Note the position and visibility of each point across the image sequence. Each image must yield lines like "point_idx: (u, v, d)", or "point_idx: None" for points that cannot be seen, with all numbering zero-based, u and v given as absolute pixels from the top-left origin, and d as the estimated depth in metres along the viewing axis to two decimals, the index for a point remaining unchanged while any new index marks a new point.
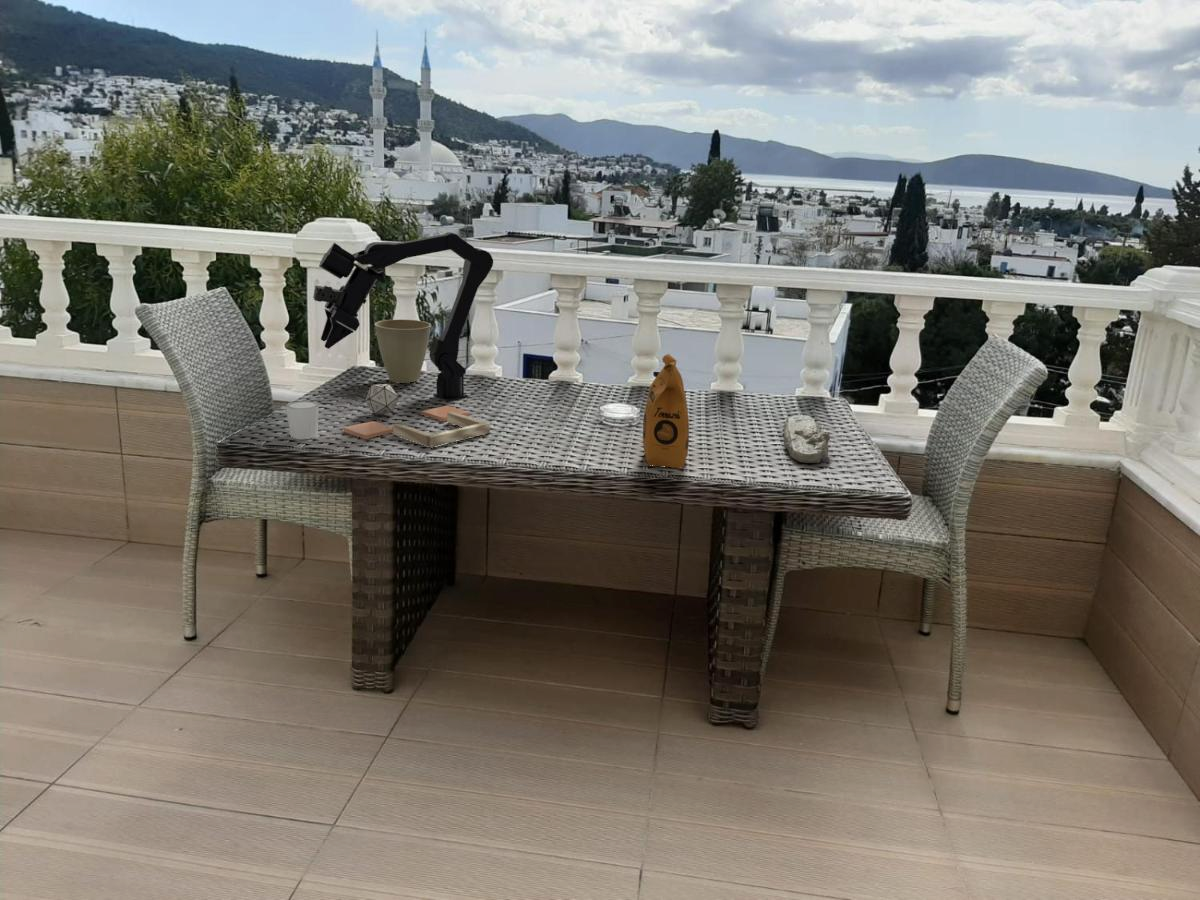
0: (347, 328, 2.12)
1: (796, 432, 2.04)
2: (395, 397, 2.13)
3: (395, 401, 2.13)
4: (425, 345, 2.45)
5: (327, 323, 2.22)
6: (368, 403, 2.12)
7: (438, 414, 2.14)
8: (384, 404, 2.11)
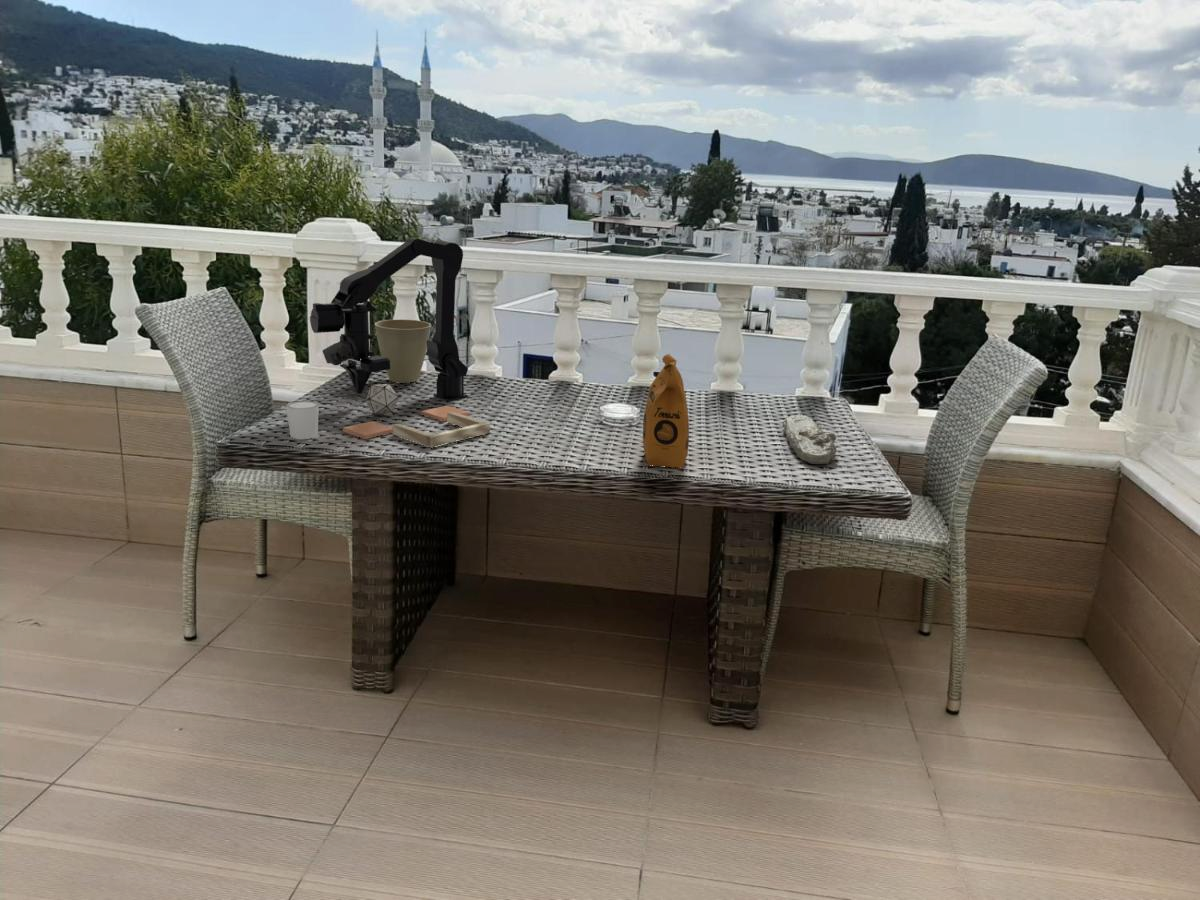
0: None
1: (800, 433, 2.04)
2: (395, 397, 2.13)
3: (395, 401, 2.13)
4: (425, 345, 2.45)
5: (353, 376, 2.18)
6: (368, 403, 2.12)
7: (438, 414, 2.14)
8: (384, 404, 2.11)
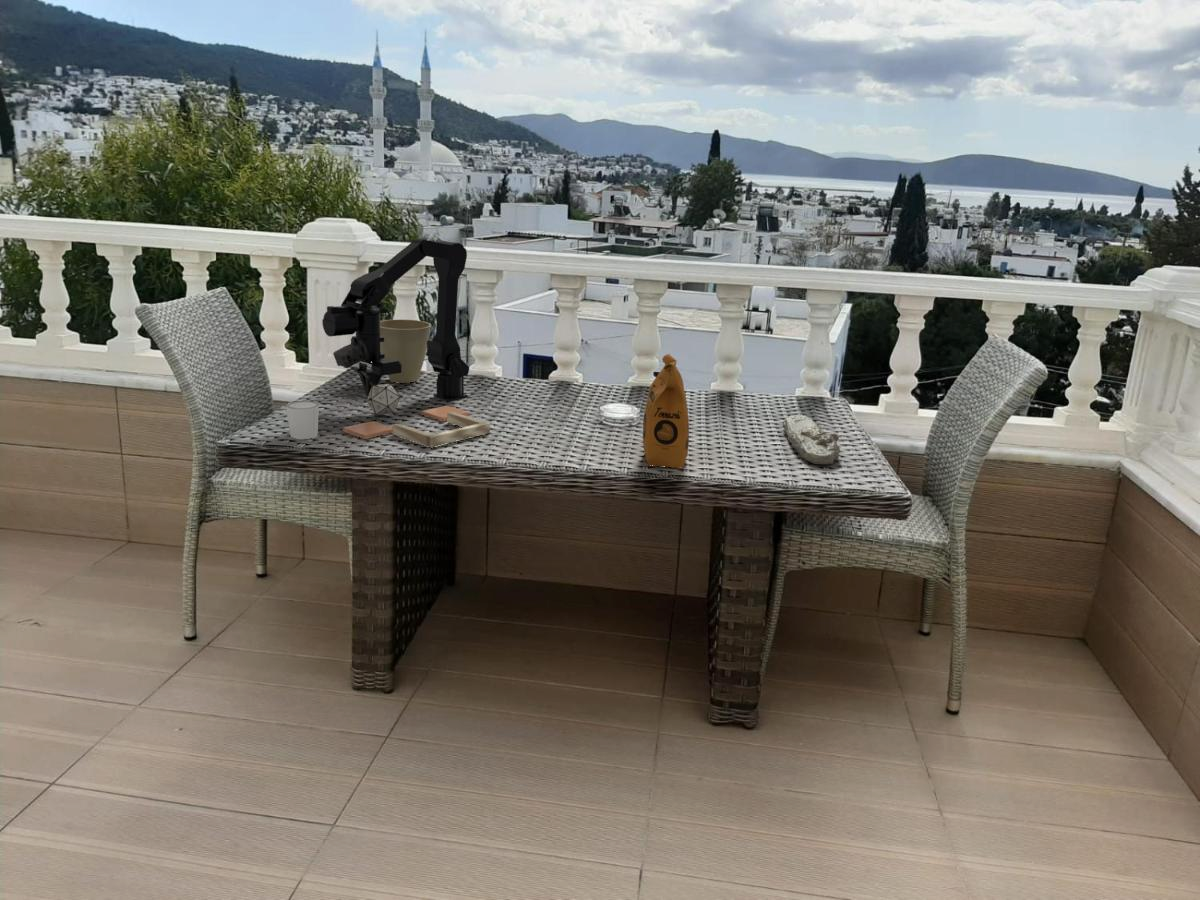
0: None
1: (803, 433, 2.04)
2: (396, 397, 2.12)
3: (396, 401, 2.13)
4: (425, 345, 2.45)
5: (364, 379, 2.15)
6: (369, 403, 2.12)
7: (438, 414, 2.14)
8: (386, 404, 2.10)
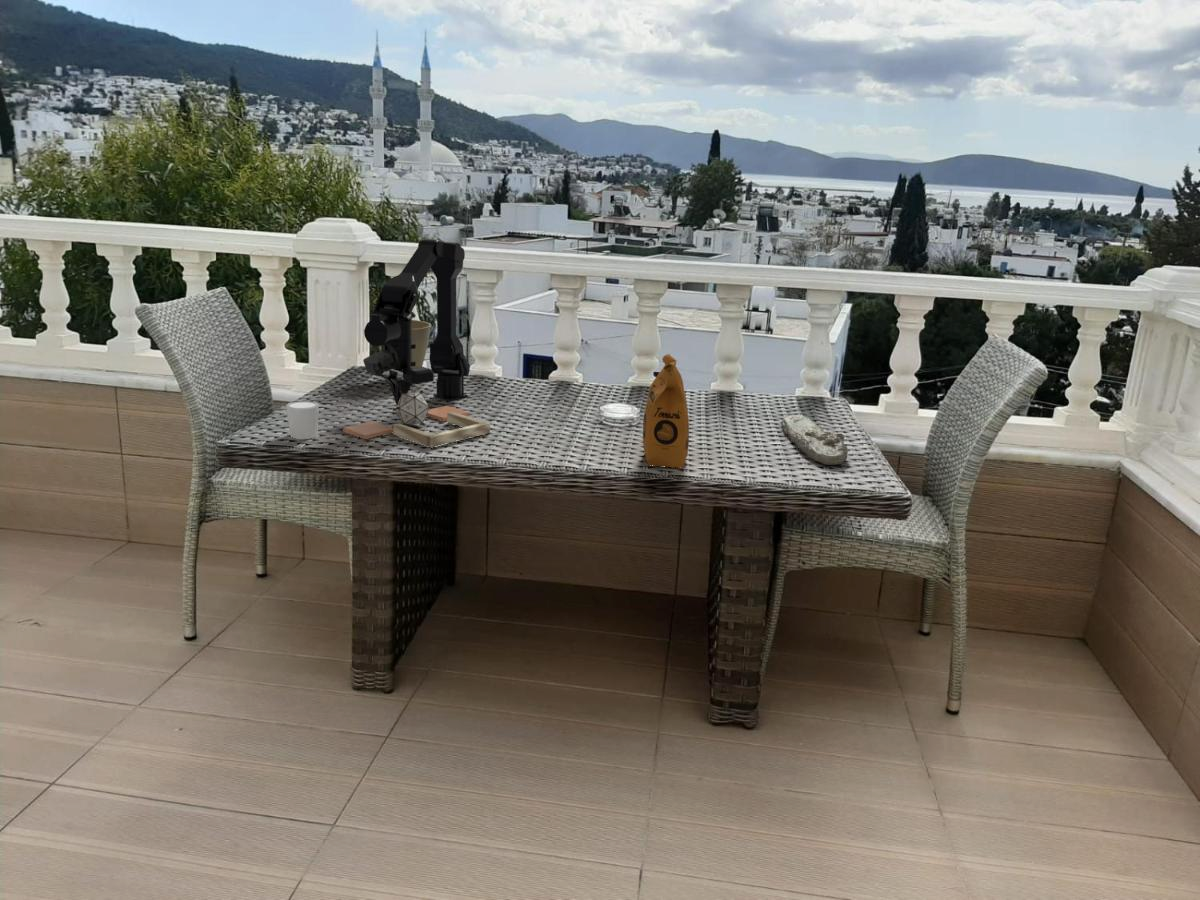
0: None
1: (807, 434, 2.04)
2: (425, 407, 2.05)
3: (425, 411, 2.05)
4: (425, 345, 2.45)
5: (394, 387, 2.07)
6: (398, 412, 2.05)
7: (438, 414, 2.14)
8: (414, 414, 2.03)
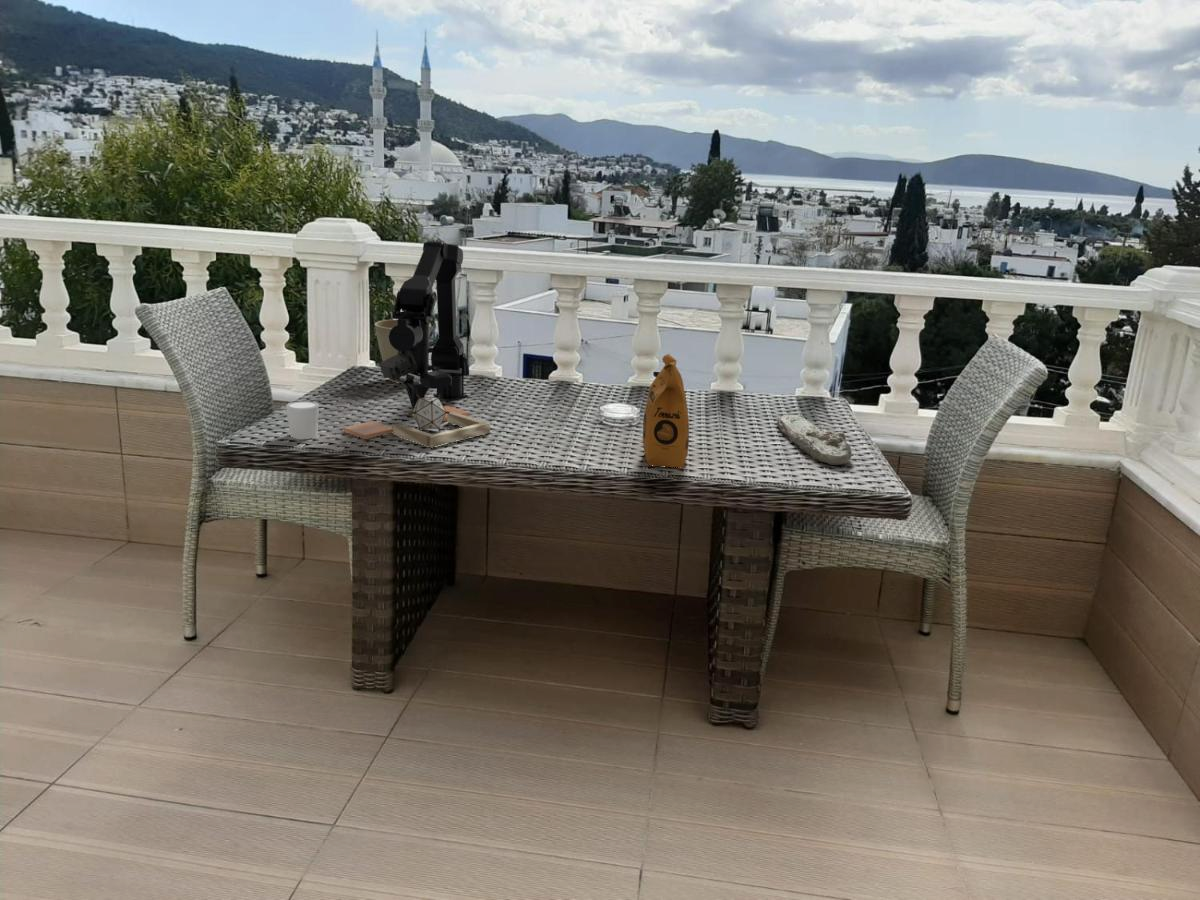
0: None
1: (808, 434, 2.04)
2: (442, 413, 2.01)
3: (442, 417, 2.02)
4: None
5: (411, 392, 2.04)
6: (414, 416, 2.02)
7: None
8: (430, 419, 2.00)
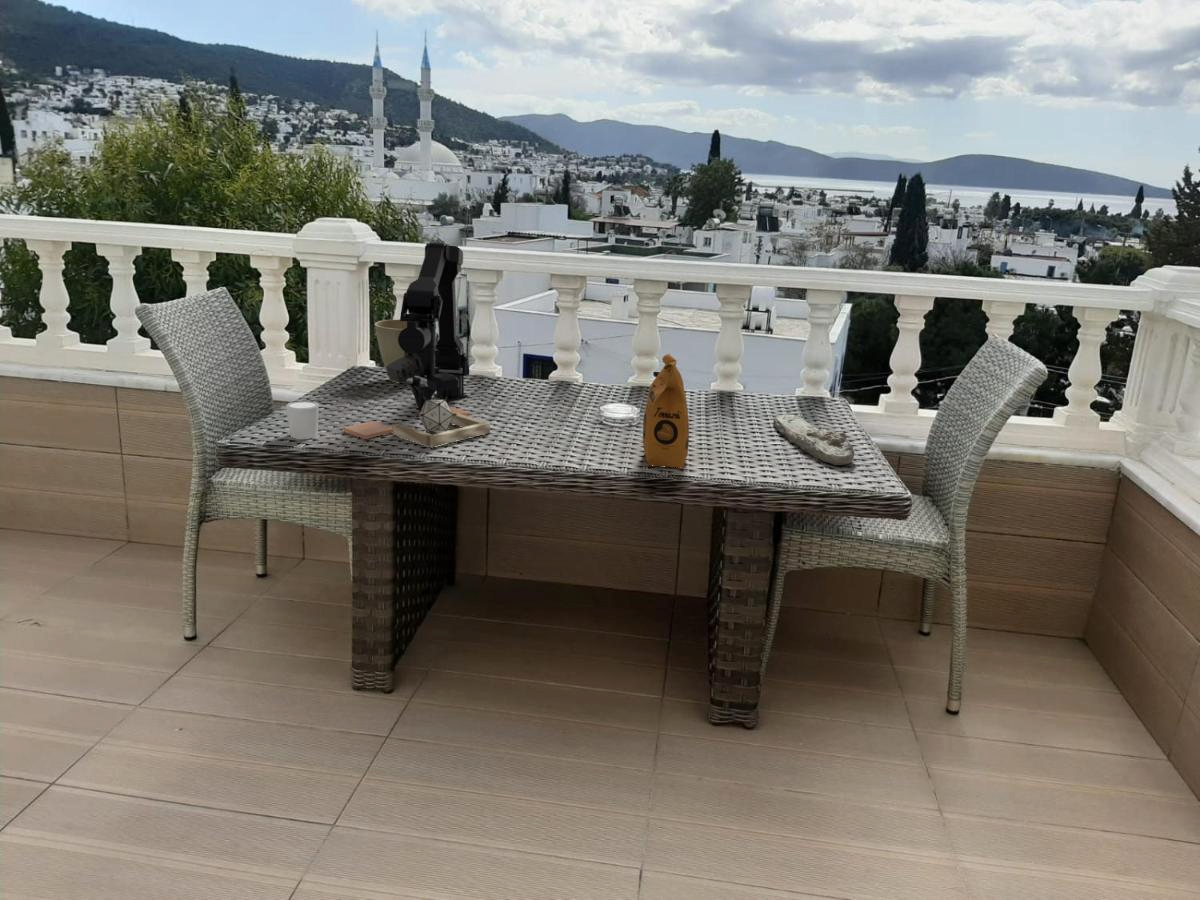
0: None
1: (809, 434, 2.04)
2: (450, 415, 2.00)
3: (449, 419, 2.01)
4: None
5: (417, 394, 2.03)
6: (421, 419, 2.01)
7: None
8: (438, 421, 1.98)
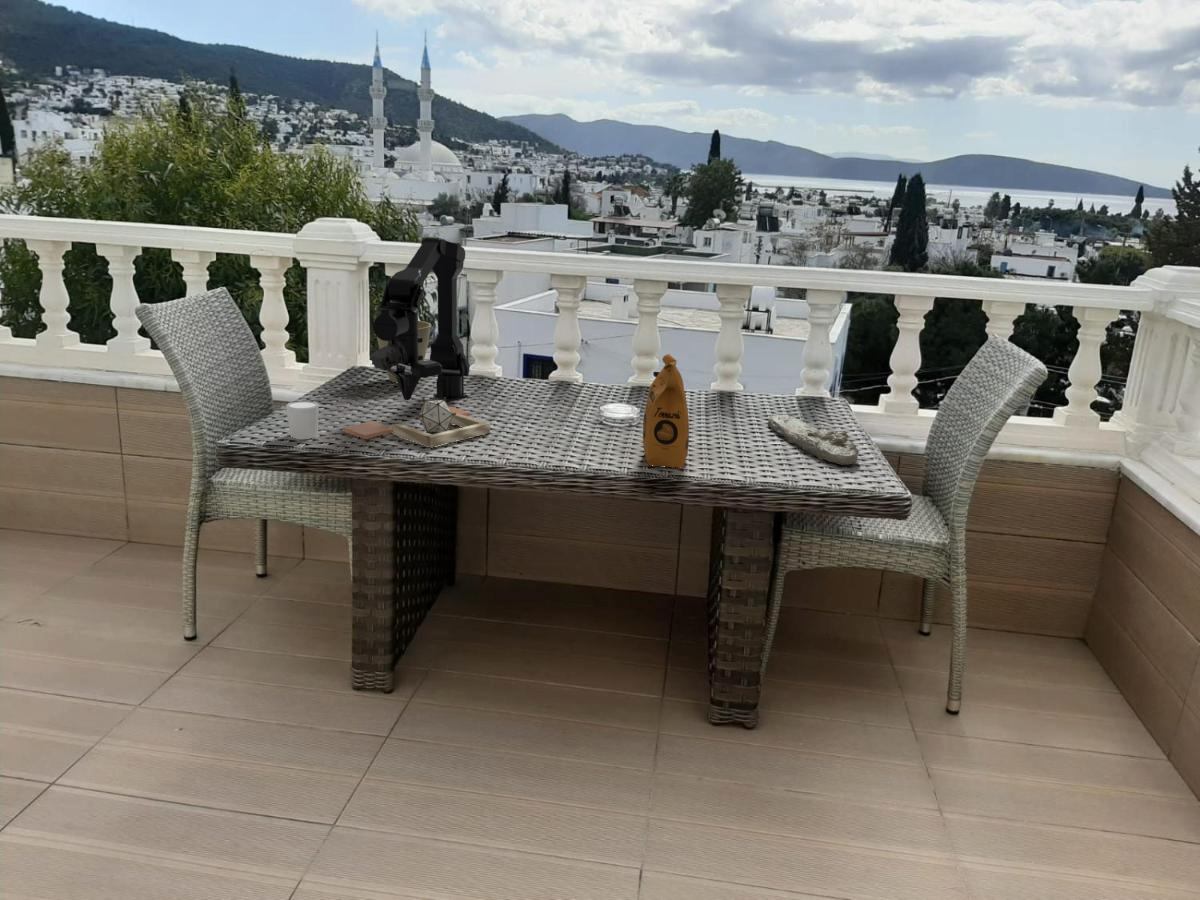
0: None
1: (810, 434, 2.03)
2: (449, 414, 2.00)
3: (449, 419, 2.01)
4: (425, 345, 2.45)
5: (402, 382, 2.06)
6: (421, 420, 2.01)
7: None
8: (437, 421, 1.98)
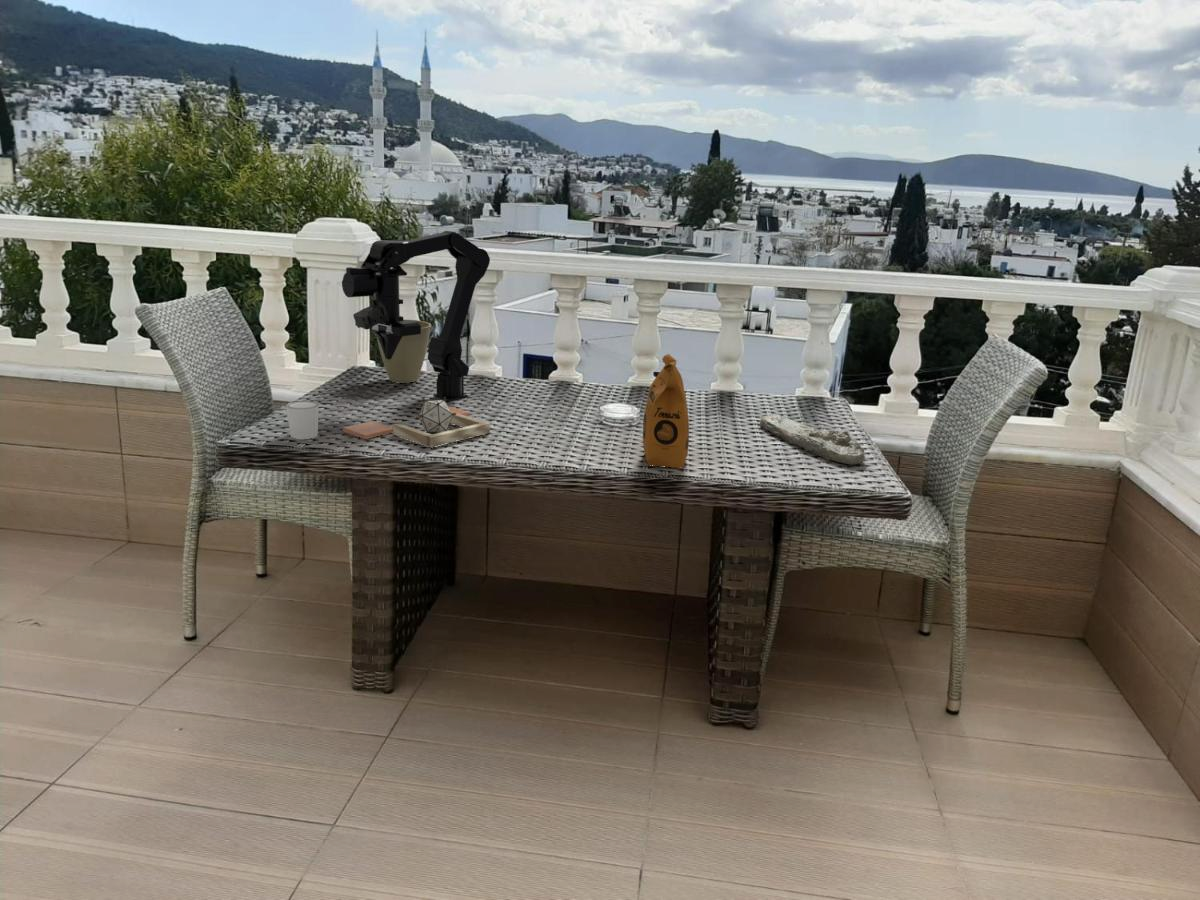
0: None
1: (812, 434, 2.03)
2: (449, 414, 2.00)
3: (449, 419, 2.01)
4: (425, 345, 2.45)
5: (383, 342, 2.17)
6: (421, 420, 2.01)
7: None
8: (437, 421, 1.98)
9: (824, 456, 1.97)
